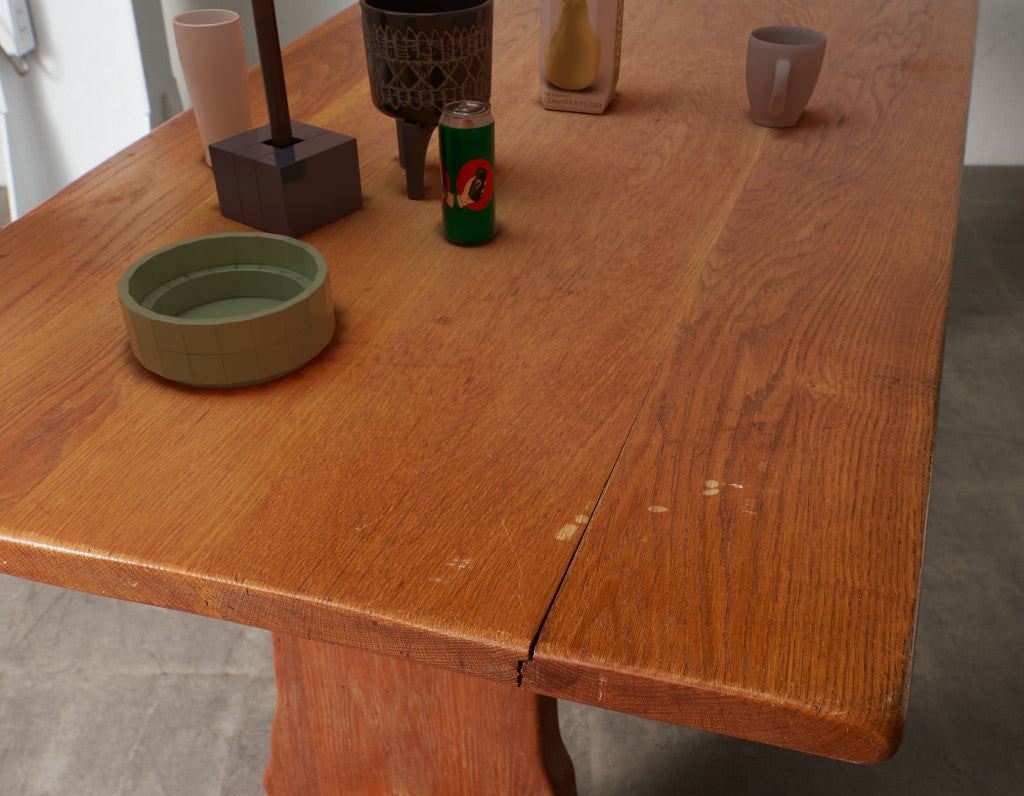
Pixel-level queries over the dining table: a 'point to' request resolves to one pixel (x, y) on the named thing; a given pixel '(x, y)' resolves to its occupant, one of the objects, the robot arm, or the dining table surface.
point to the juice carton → (579, 53)
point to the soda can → (467, 172)
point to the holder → (287, 179)
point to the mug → (782, 72)
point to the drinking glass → (214, 72)
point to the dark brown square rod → (272, 72)
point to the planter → (425, 67)
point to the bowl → (228, 308)
